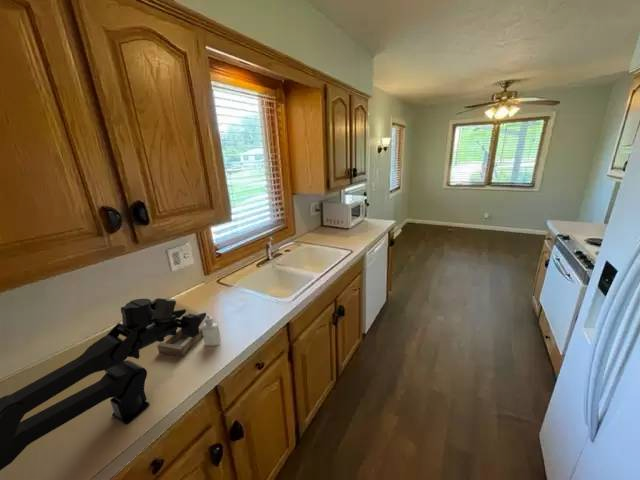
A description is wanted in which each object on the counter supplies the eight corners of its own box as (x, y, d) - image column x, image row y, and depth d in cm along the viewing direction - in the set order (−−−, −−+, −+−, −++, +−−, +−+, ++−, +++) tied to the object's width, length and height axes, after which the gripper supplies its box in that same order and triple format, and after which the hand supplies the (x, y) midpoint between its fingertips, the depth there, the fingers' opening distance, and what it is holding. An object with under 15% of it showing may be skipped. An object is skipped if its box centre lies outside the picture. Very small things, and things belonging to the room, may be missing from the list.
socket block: (182, 357, 94) (180, 349, 93) (159, 353, 97) (157, 345, 95) (203, 336, 105) (202, 328, 104) (182, 333, 107) (180, 325, 106)
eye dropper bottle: (211, 349, 98) (206, 320, 94) (203, 343, 101) (198, 315, 97) (222, 342, 101) (217, 314, 97) (214, 337, 104) (209, 309, 101)
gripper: (170, 309, 73) (214, 291, 87) (126, 302, 80) (173, 286, 94) (175, 349, 74) (217, 324, 88) (131, 337, 82) (176, 317, 96)
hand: (195, 312), depth 92 cm, fingers open, 9 cm apart
